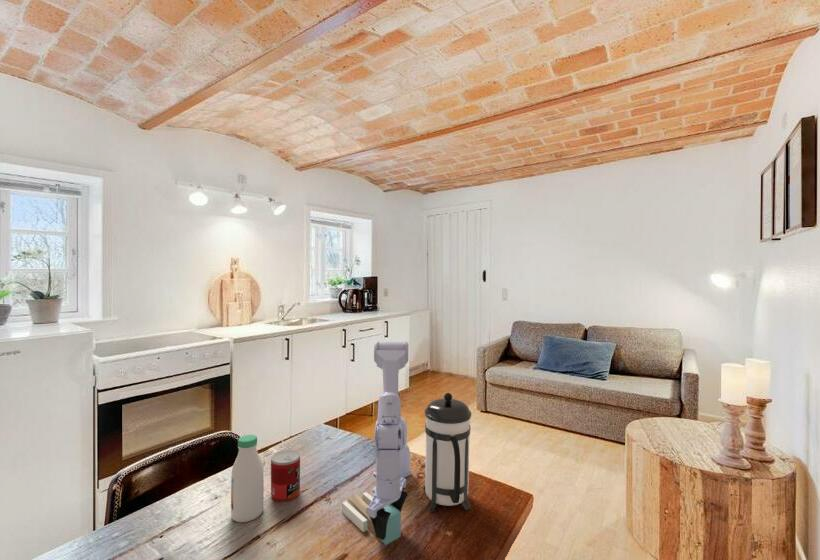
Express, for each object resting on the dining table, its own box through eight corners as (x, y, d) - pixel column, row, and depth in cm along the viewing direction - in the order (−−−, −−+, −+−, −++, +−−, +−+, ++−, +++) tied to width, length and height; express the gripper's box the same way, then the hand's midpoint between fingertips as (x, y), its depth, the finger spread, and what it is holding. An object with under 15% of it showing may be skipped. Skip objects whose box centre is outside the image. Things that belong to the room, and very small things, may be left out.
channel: (366, 500, 105) (366, 491, 105) (388, 519, 98) (388, 509, 98) (341, 511, 100) (342, 502, 100) (363, 532, 93) (363, 522, 93)
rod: (355, 503, 105) (355, 493, 105) (384, 531, 94) (384, 520, 94) (347, 506, 103) (347, 497, 103) (375, 535, 92) (375, 525, 92)
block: (389, 527, 95) (389, 503, 95) (400, 536, 91) (400, 512, 91) (374, 534, 92) (375, 510, 92) (385, 545, 89) (386, 519, 88)
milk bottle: (269, 508, 102) (270, 434, 101) (248, 526, 94) (248, 446, 94) (246, 501, 104) (246, 429, 104) (224, 519, 97) (224, 441, 96)
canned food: (291, 504, 103) (291, 464, 103) (265, 500, 105) (265, 461, 105) (304, 488, 111) (305, 451, 111) (279, 485, 112) (280, 448, 112)
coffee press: (406, 501, 105) (407, 393, 104) (441, 478, 117) (443, 381, 116) (457, 531, 93) (459, 410, 93) (491, 502, 105) (493, 395, 104)
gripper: (389, 456, 100) (389, 508, 100) (356, 484, 87) (355, 542, 87) (413, 463, 96) (412, 516, 97) (382, 493, 83) (381, 554, 84)
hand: (387, 529), depth 92 cm, fingers closed on block, 6 cm apart
